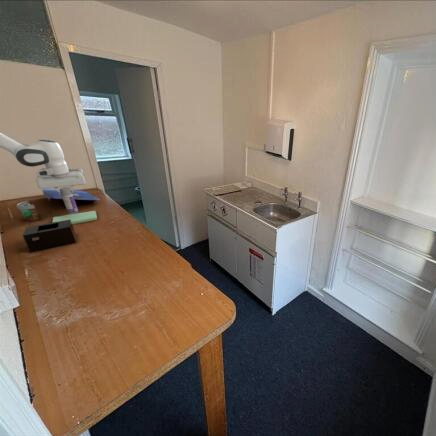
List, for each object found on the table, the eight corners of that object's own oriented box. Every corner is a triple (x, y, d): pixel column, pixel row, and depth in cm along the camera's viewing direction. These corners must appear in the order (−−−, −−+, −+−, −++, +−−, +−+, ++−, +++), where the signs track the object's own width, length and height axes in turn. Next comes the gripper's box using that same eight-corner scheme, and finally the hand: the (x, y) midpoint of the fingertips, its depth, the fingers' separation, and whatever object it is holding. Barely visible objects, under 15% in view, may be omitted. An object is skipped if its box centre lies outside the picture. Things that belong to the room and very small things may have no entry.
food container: (20, 218, 140) (13, 202, 136) (35, 215, 145) (28, 200, 141) (25, 223, 134) (18, 207, 130) (40, 220, 139) (33, 204, 135)
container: (75, 210, 143) (67, 186, 137) (80, 211, 141) (71, 188, 135) (66, 212, 139) (57, 188, 133) (70, 214, 137) (61, 189, 131)
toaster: (30, 253, 107) (22, 236, 104) (33, 243, 116) (26, 226, 112) (76, 243, 117) (70, 227, 113) (76, 234, 125) (70, 219, 122)
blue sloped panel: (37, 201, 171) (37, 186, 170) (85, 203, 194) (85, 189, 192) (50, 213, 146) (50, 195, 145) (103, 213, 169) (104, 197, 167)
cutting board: (52, 227, 131) (51, 225, 131) (54, 219, 141) (53, 217, 140) (97, 219, 143) (96, 217, 143) (96, 212, 153) (95, 210, 152)
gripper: (82, 167, 138) (89, 189, 144) (33, 170, 126) (42, 195, 132) (82, 169, 134) (89, 192, 140) (31, 173, 122) (41, 198, 127)
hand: (66, 193), depth 135 cm, fingers closed on container, 3 cm apart
